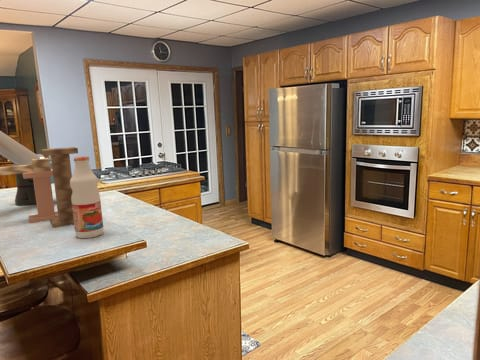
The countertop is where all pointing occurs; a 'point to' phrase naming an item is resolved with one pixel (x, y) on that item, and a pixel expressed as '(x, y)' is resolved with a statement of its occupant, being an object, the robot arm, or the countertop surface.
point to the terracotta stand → (42, 196)
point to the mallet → (28, 167)
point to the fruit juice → (85, 200)
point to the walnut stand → (62, 183)
